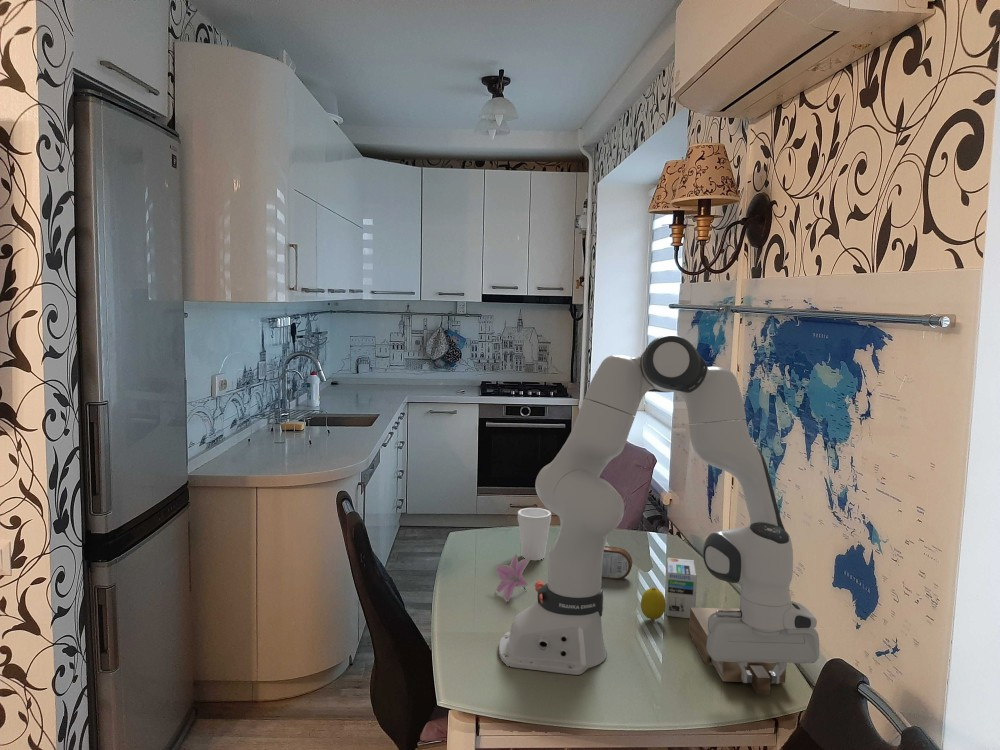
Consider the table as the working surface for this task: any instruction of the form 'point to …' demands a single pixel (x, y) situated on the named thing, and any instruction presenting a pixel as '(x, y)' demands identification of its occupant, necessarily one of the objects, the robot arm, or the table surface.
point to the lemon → (653, 603)
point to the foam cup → (534, 532)
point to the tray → (757, 669)
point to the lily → (511, 576)
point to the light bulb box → (680, 587)
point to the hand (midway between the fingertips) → (760, 681)
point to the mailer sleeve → (702, 628)
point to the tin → (615, 563)
